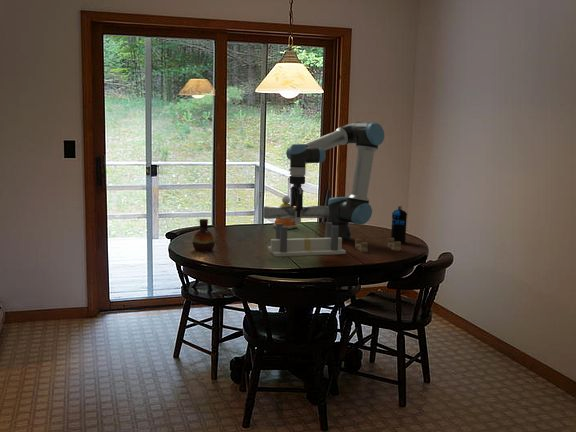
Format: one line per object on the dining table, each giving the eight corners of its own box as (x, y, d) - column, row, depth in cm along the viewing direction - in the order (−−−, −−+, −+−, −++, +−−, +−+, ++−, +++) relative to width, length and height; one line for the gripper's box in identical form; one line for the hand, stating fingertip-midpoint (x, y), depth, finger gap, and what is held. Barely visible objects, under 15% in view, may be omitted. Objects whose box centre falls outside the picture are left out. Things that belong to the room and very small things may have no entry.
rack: (354, 247, 321) (355, 239, 320) (392, 246, 326) (393, 238, 325) (361, 251, 311) (362, 243, 310) (400, 250, 316) (400, 242, 315)
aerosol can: (393, 240, 343) (395, 204, 339) (407, 241, 338) (409, 205, 335) (388, 242, 336) (389, 206, 332) (402, 244, 331) (404, 207, 328)
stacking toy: (294, 230, 364) (295, 197, 361) (270, 228, 367) (271, 196, 364) (299, 226, 378) (300, 194, 375) (276, 224, 381) (277, 193, 378)
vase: (219, 249, 309) (219, 219, 306) (205, 253, 299) (205, 222, 297) (201, 247, 314) (201, 217, 312) (187, 251, 305) (187, 220, 302)
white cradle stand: (267, 249, 312) (268, 222, 310) (335, 247, 321) (336, 221, 319) (274, 256, 297) (275, 228, 295) (345, 253, 306) (346, 227, 304)
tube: (265, 219, 298) (266, 207, 297) (263, 217, 304) (263, 205, 303) (329, 218, 306) (329, 206, 305) (325, 216, 312) (325, 205, 311)
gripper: (285, 173, 310) (284, 219, 313) (295, 177, 292) (293, 226, 295) (299, 173, 312) (298, 219, 315) (310, 177, 293) (308, 225, 297)
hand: (296, 222), depth 305 cm, fingers closed on tube, 6 cm apart
